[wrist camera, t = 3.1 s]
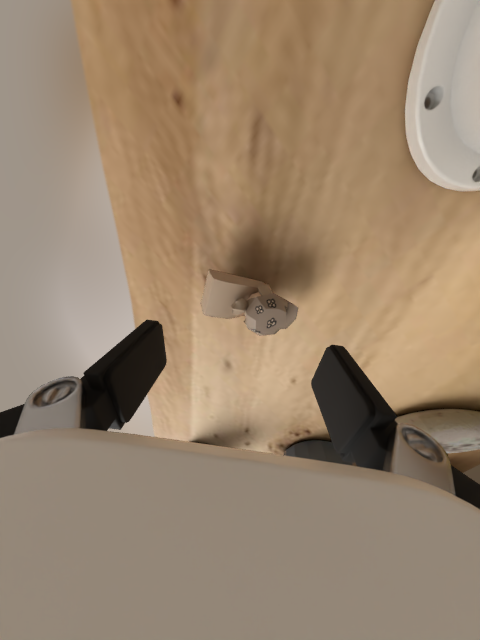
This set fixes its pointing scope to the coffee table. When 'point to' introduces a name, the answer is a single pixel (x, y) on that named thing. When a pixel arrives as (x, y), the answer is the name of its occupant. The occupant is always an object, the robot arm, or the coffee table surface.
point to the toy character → (246, 302)
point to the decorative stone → (448, 427)
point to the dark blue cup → (316, 451)
